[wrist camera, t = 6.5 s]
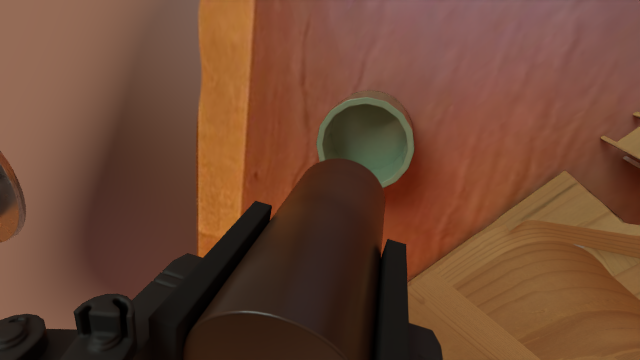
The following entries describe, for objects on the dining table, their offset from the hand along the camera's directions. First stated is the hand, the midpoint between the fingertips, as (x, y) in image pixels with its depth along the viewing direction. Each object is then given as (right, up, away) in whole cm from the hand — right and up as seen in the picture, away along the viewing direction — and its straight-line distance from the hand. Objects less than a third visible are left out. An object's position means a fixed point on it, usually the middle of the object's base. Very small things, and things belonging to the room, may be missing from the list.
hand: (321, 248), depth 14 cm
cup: (+4, +7, +16) cm, 18 cm away
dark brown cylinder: (+1, +2, +4) cm, 5 cm away
